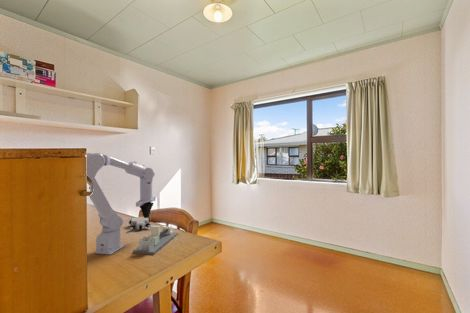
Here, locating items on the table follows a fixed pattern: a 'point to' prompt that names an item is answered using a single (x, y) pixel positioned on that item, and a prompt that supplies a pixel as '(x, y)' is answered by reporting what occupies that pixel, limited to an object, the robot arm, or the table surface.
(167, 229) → the dark grey bar
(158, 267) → the table surface
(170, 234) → the board
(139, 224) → the robot toy
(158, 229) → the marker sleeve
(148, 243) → the connector
